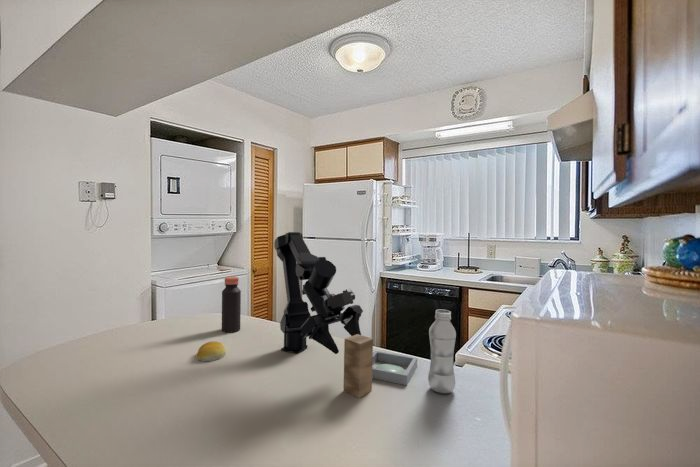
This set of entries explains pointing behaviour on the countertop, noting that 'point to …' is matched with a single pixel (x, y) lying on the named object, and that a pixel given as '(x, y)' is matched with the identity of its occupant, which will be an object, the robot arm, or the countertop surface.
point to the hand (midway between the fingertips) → (350, 348)
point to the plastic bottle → (442, 353)
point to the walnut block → (358, 365)
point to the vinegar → (231, 306)
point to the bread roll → (211, 351)
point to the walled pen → (393, 367)
